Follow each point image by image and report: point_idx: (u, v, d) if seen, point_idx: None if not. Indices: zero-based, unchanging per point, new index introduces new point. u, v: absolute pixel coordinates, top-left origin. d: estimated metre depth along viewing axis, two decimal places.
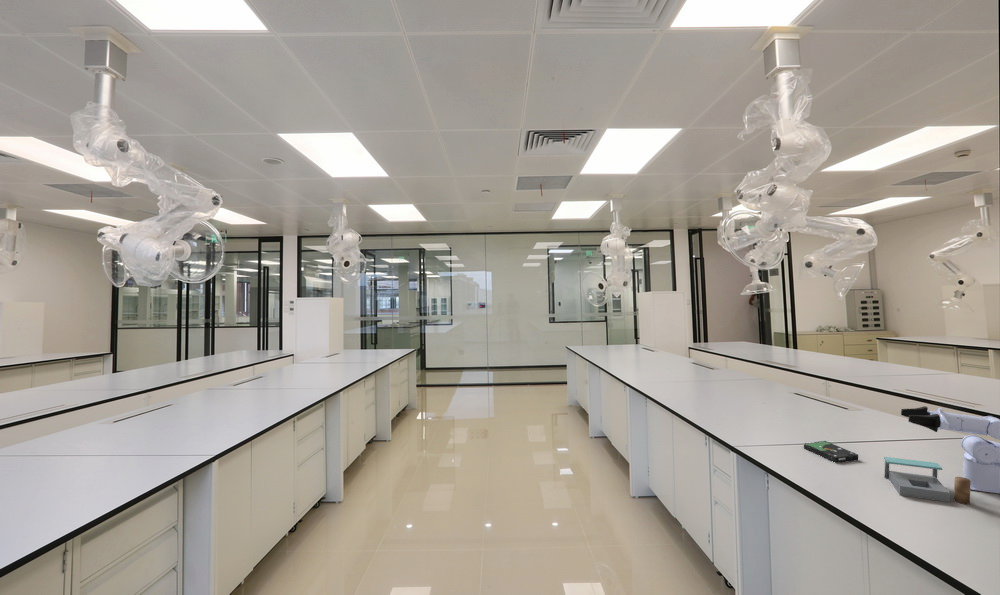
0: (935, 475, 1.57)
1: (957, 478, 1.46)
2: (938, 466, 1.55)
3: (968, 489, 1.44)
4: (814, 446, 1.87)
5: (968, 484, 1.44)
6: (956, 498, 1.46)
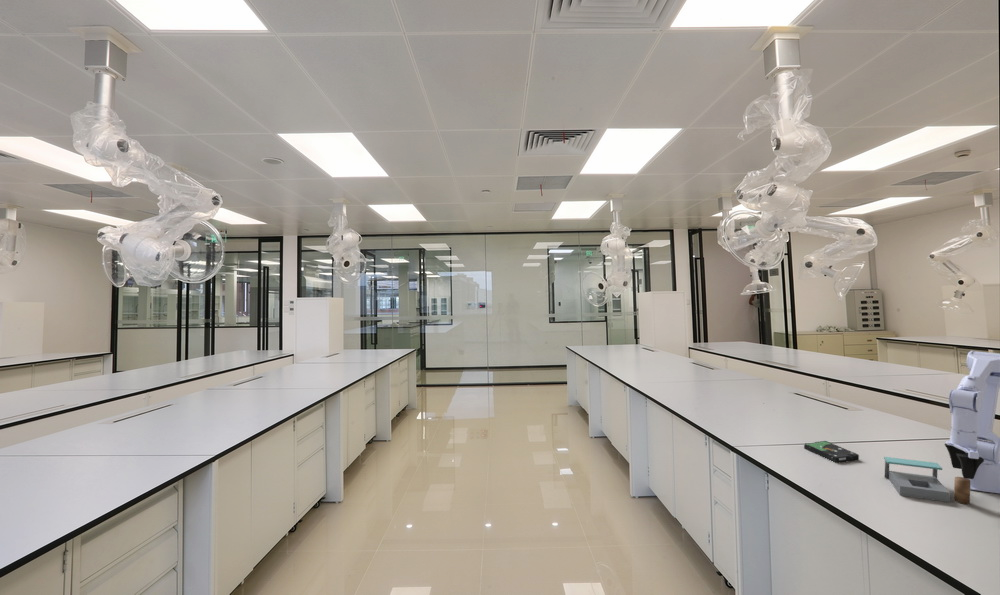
0: (935, 475, 1.57)
1: (957, 478, 1.46)
2: (938, 466, 1.55)
3: (968, 489, 1.44)
4: (814, 446, 1.87)
5: (968, 484, 1.44)
6: (956, 498, 1.46)
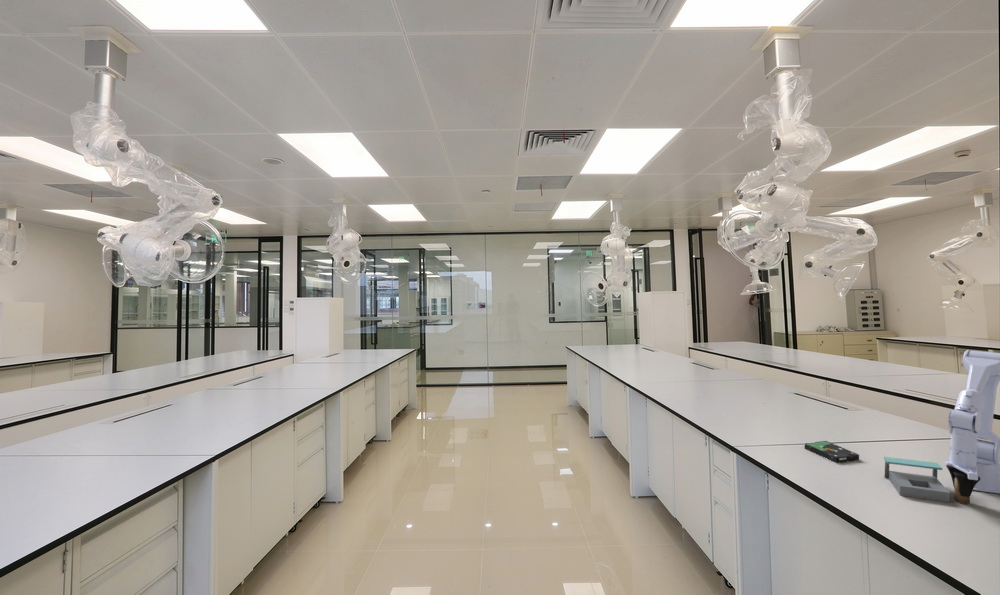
0: (935, 475, 1.57)
1: None
2: (938, 466, 1.55)
3: None
4: (815, 446, 1.87)
5: None
6: (956, 498, 1.46)
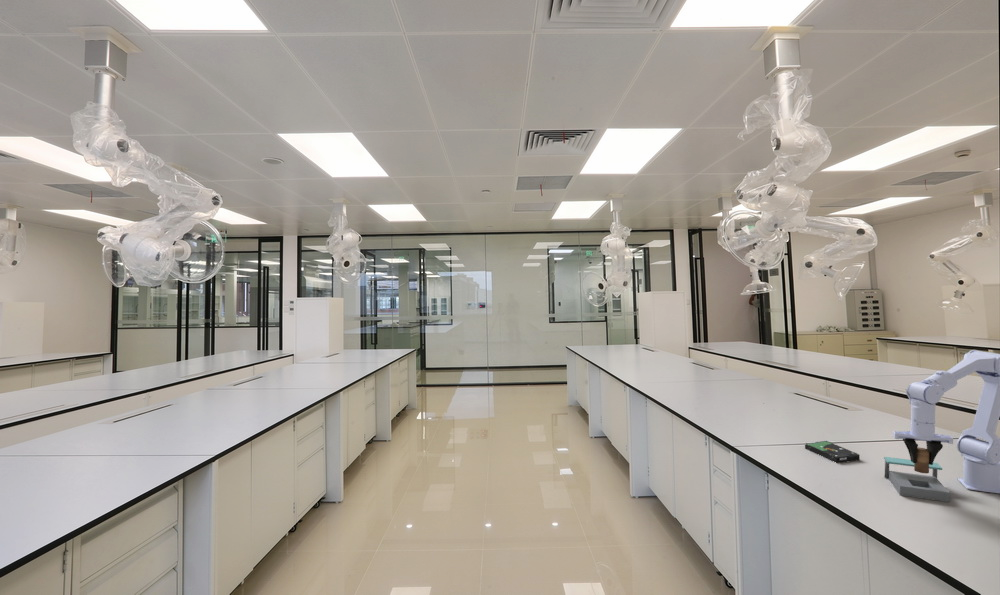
0: (935, 475, 1.57)
1: (920, 448, 1.52)
2: (938, 466, 1.55)
3: (917, 457, 1.51)
4: (815, 446, 1.87)
5: (917, 452, 1.51)
6: None
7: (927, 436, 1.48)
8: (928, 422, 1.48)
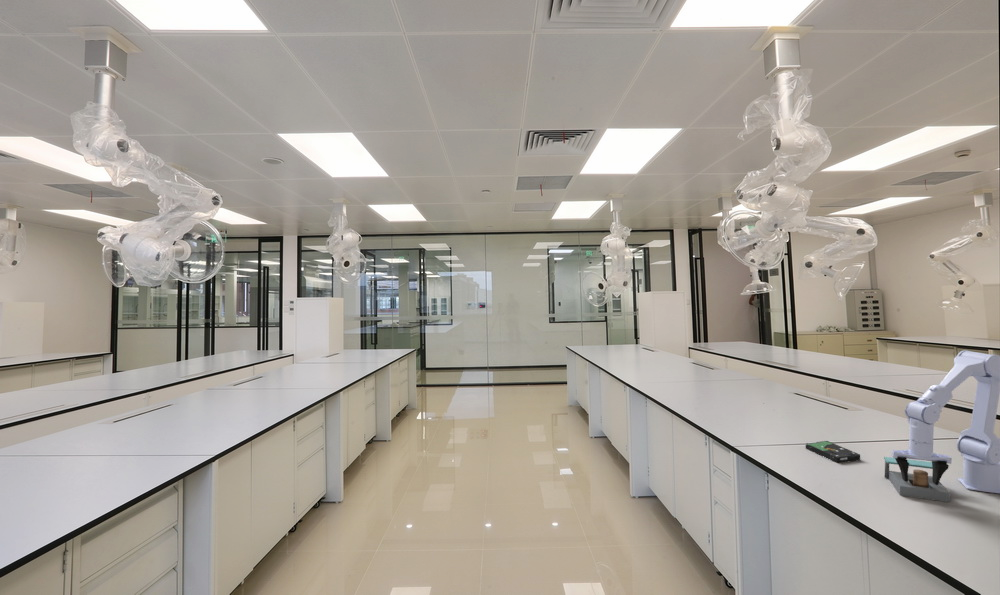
0: None
1: (919, 470, 1.53)
2: None
3: (916, 479, 1.51)
4: (816, 446, 1.87)
5: (916, 475, 1.51)
6: None
7: (925, 456, 1.49)
8: (926, 442, 1.48)
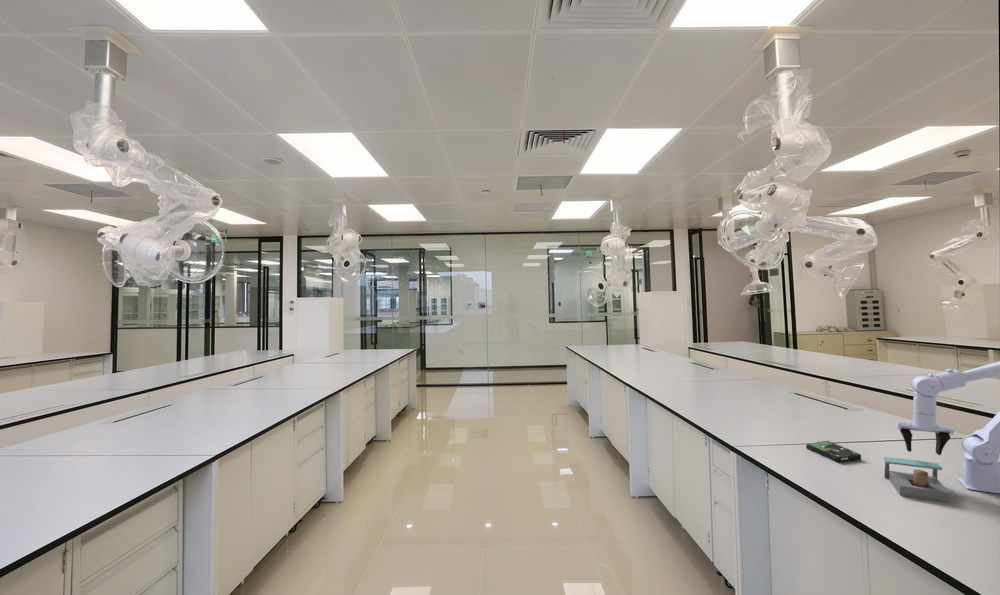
0: (935, 475, 1.57)
1: (919, 470, 1.53)
2: (938, 466, 1.55)
3: (916, 479, 1.51)
4: (817, 446, 1.87)
5: (916, 475, 1.51)
6: None
7: (928, 427, 1.57)
8: (923, 413, 1.58)
